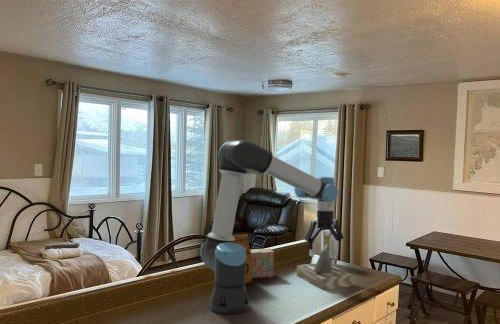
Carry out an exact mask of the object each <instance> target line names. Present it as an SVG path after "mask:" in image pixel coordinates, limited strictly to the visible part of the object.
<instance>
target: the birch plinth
mask: <svg viewBox="0 0 500 324" xmlns="http://www.w3.org/2000/svg"><path fill="white" fill-rule="evenodd" d="M316 264H317V262H316V263H308V264H299V265H298V264H297V265H296V276H297V277H299V278H300V279H302V280H304V281H306V283H307V282H308V283H309V284H311V285H312V286H314V287H316V288H318V289H320V290H322V291H327V290H332V289H333V290H334V289H341V288H348V287H352V286H353V274H352V273H349V272H348V271H347V272H346V271H345V270H343V269H340V268H338V267H336V266H332V268H331V271H330V273H325V272H319V273H316V272H315V271H314V269H315V266H316Z"/></svg>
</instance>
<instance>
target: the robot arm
mask: <svg viewBox="0 0 500 324" xmlns="http://www.w3.org/2000/svg"><path fill="white" fill-rule="evenodd" d="M217 157H218V162H219V169H218V171H219V172H220V174H221V179H220V183H219V189H218V194H217V199H216V205H215V210H214V216H213V221H212V227H211V231H210V232H209V233H208V234H207V235H206V239H205V242H203V243H202V245H201V247H200V259H201V260H202V262H203V263H204V264H205V267H207V268H209V269H211V270H212V271H213V272H214V287H213V291H212V294H211V296H210V299H209V309H210V310H211V311H213V312H215V313H218V314H224V315H235V314H241V313H242V314H243V313H245V312H246V311H248V310H249V309H250V299H249V295H248V293H247V292H248V291H247V288H246V283H245V273H246V250H245V248H244V247H243V246H242V245H240V244H235V243H234V241H235V239H234V238H233V236H234V235H233V230H234V225H235V219H236V215H237V208H238V203H239V198H240V191H241V186H242V182H243V181H242V180H243V178H244V177H245V176H247V173H248V171H252V172H256V173H258V174H260V175H263V174H266V175H267V176H270V177H272V178H274V179H277V180H279V181H281V182H282V183H285V184H287V185H288V186H292V187H293V188H294V194H295V196H296V197H297V198H300V199H312V200H317V204H316V208H317V210H316V218H317V220H313V219H312V220H311V221H310V226H309V228H308V230H307V233H306V235H305V237H304V241H307V243H308V245H307V247H308V250H309V253H308V254H309V257H311V258H314V257H315V240H316V238H317V237H318V235H319V234H320V232H322V230H329V231H330V232H331V234H332V235H333V236H334V238H335V239H336V240H334V249H333V253H334V254H336V255H339V247H340V244H341V243H340V242H341V241H342V240H343V239H344V235H343V233H342V230H341V227H340V224H339V219H334V211H333V210H334V209H335V208H334V207H335V206H334V205H335V204H334V203H335V200H337V199H338V197H339V189H338V187H337V186H336V185H335V178H334V177H332V176H319V177H318V178H317V177H314V176H313V175H312V174H309V173H307V172H305V171H303V170H301V169H299V168H297V167H296V166H293V165H291V164H289V163H288V162H285V161H284V160H281V159H280V158H278V157H276V156H274V154H273V152H272V151H270V150H267V149H266V148H265V147H262V146H261V145H259V144H257V143H256V142H253V141H250V140H247V139H239V140H238V139H237V140H236V139H233V140H228V141H226V142H224V144H222V145H221V146H220V148H219V150H218V154H217ZM334 229H335V230H336V232H337V233H336V232H335V230H334Z"/></svg>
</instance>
